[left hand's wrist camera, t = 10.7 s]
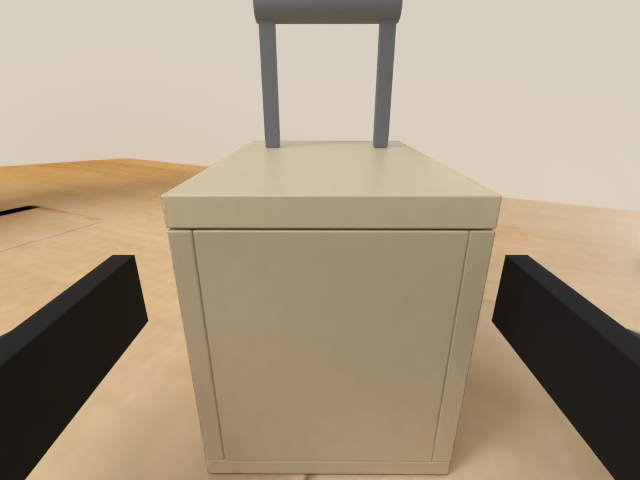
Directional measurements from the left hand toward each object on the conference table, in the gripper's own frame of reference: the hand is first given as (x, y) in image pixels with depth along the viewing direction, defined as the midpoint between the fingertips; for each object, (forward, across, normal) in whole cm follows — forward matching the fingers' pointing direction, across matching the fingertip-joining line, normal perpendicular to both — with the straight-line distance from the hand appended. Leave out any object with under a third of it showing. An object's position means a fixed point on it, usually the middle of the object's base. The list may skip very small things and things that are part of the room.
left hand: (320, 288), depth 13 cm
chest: (+4, 0, -7) cm, 8 cm away
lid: (+5, 0, +3) cm, 5 cm away
